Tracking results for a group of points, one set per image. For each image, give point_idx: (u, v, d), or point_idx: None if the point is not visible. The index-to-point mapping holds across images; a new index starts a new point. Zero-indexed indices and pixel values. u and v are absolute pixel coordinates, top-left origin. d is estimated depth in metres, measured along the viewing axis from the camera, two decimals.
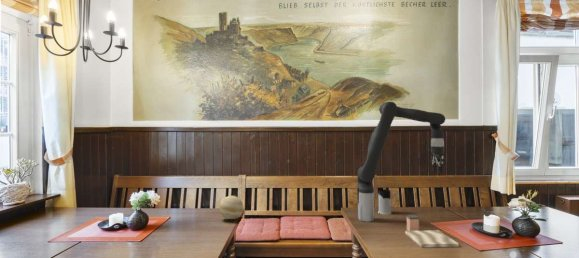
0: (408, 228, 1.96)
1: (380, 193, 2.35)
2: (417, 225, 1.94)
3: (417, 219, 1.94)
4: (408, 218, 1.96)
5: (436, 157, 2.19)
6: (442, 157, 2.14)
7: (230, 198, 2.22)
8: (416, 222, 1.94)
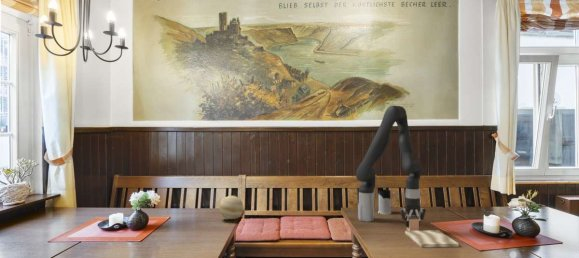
0: (408, 228, 1.96)
1: (380, 193, 2.35)
2: (417, 225, 1.94)
3: (417, 219, 1.94)
4: None
5: None
6: None
7: (230, 198, 2.22)
8: (416, 222, 1.94)
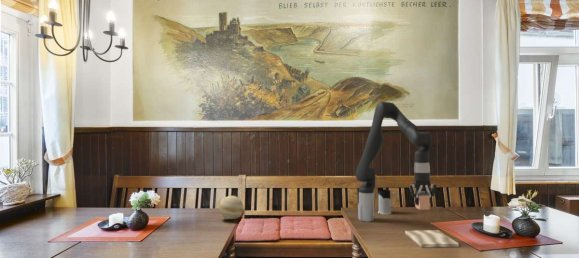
0: (418, 205, 1.81)
1: (380, 193, 2.35)
2: (427, 202, 1.79)
3: (427, 195, 1.79)
4: None
5: (427, 186, 1.80)
6: None
7: (230, 198, 2.22)
8: (426, 198, 1.79)
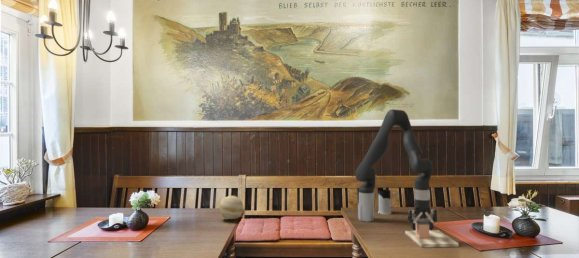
0: (417, 234, 1.80)
1: (380, 193, 2.35)
2: (427, 231, 1.78)
3: (427, 224, 1.78)
4: (417, 223, 1.80)
5: (427, 212, 1.79)
6: None
7: (230, 198, 2.22)
8: (425, 227, 1.78)
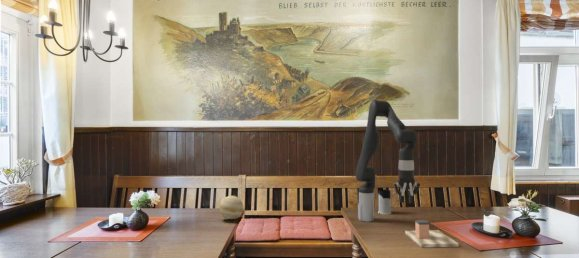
0: (417, 234, 1.80)
1: (380, 193, 2.35)
2: (427, 231, 1.78)
3: (427, 224, 1.78)
4: (417, 223, 1.80)
5: (411, 184, 1.79)
6: None
7: (230, 198, 2.22)
8: (425, 227, 1.78)
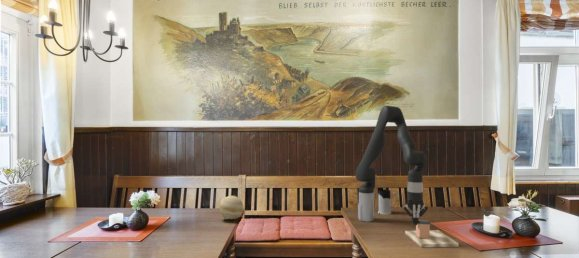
0: (417, 233, 1.80)
1: (380, 193, 2.35)
2: (428, 231, 1.78)
3: (428, 224, 1.78)
4: (418, 222, 1.80)
5: (420, 206, 1.79)
6: None
7: (230, 198, 2.22)
8: (426, 227, 1.78)
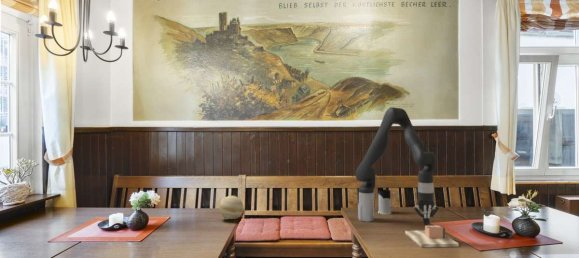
0: (429, 227, 1.81)
1: (380, 193, 2.35)
2: (436, 236, 1.78)
3: (442, 236, 1.79)
4: (440, 227, 1.81)
5: (430, 206, 1.79)
6: None
7: (230, 198, 2.22)
8: (439, 234, 1.78)
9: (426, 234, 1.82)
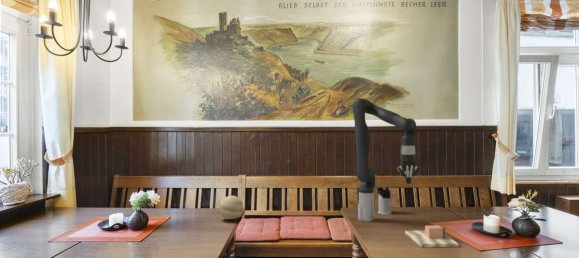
0: (429, 227, 1.81)
1: (380, 193, 2.35)
2: (436, 236, 1.78)
3: (442, 236, 1.79)
4: (440, 227, 1.81)
5: (412, 167, 2.01)
6: None
7: (230, 198, 2.22)
8: (439, 234, 1.78)
9: (426, 234, 1.82)
